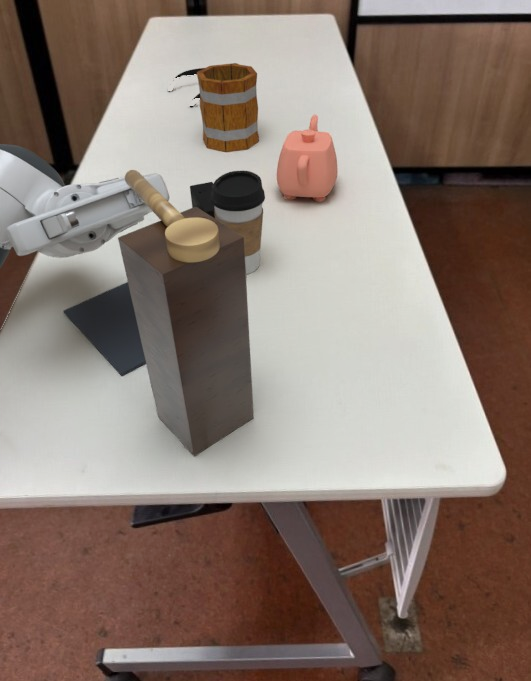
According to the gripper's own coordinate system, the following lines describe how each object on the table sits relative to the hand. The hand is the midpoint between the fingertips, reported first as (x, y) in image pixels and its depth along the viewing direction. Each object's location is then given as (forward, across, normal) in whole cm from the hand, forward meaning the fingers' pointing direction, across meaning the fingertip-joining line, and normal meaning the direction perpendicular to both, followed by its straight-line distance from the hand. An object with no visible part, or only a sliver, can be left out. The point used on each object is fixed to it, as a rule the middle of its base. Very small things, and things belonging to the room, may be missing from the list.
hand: (109, 205), depth 64 cm
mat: (-18, +2, +16) cm, 24 cm away
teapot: (-30, +51, +10) cm, 60 cm away
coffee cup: (-19, +24, +16) cm, 35 cm away
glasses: (-82, +69, -21) cm, 109 cm away
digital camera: (-30, +26, +10) cm, 41 cm away
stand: (+1, 0, +28) cm, 28 cm away
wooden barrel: (-58, +56, -7) cm, 81 cm away
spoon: (+11, +1, +3) cm, 11 cm away
